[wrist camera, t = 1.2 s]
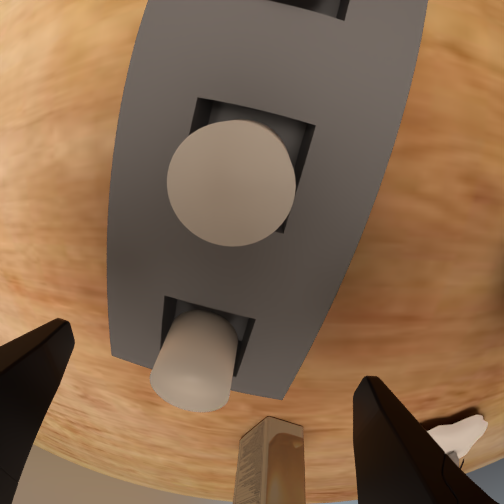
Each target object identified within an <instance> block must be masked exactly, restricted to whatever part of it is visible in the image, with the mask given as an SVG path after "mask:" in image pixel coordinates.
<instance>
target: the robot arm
mask: <svg viewBox="0 0 504 504" xmlns="http://www.w3.org/2000/svg"><path fill="white" fill-rule="evenodd" d="M74 345H75V340H74V336H73V333H72V329H71V325H70V323H69V322H68V321H66V320H63V319H60V318H57V319H54V320H52V321H50V322H48V323H46V324H44V325H42V326H40V327H38V328H36V329H34V330H32V331H30V332H28V333H26V334H24V335H22V336H20V337H18V338H16V339H14V340H12V341H10V342H8V343H6V344H4V345H2V346H0V504H12V501H13V497H14V495H15V492H16V489H17V486H18V482H19V479H20V476H21V474H22V471H23V468H24V465H25V463H26V460H27V457H28V455H29V452H30V450H31V447H32V445H33V442H34V440H35V438H36V435H37V433H38V431H39V428H40V426H41V424H42V421H43V419H44V417H45V415H46V413H47V410H48V408H49V406H50V404H51V402H52V400H53V398H54V395H55V393H56V391H57V389H58V387H59V385H60V382H61V380H62V377H63V374H64V372H65V369H66V366H67V364H68V361H69V358H70V356H71V353H72V351H73V348H74ZM353 446H354V456H355V467H356V479H357V492H358V504H499V503H497V502H496V501H494V500H493V499H492V498H491V497H490V496H488V495H487V494H486V493H485V492H484V491H483V490H482V489H481V488H480V487H479V486H477V485H476V484H475V483H474V482H473V481H472V480H471V479H470V478H469V477H468V476H466V474H465V473H464V472H463V471H462V470H461V469H460V468H459V467H458V466H457V465H456V464H455V463H454V462H453V460H452V459H451V458H450V457H449V456H448V455H447V454H446V453H445V451H444V450H443V449H442V448H441V447H440V446H439V445H438V443H437V442H436V441H435V440H434V439H433V438H432V437H431V435H430V434H429V433H428V432H427V431H426V430H425V429H424V428H423V426H422V425H421V424H420V423H419V422H418V421H417V420H416V419H415V417H414V416H413V415H412V414H411V413H410V412H409V411H408V410H407V408H406V407H405V406H404V405H403V404H402V403H401V402H400V401H399V399H398V398H397V397H396V396H395V395H394V394H393V393H392V392H391V390H390V389H389V388H388V387H387V386H386V385H385V384H384V383H383V381H382V380H381V379H380V378H379V377H377V376H365V377H364V378H363V379H362V381H361V383H360V384H359V386H358V388H357V389H356V391H355V393H354V396H353Z"/></svg>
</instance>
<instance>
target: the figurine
mask: <svg viewBox="0 0 504 504" xmlns="http://www.w3.org/2000/svg"><path fill="white" fill-rule="evenodd" d="M487 426H488V422H486V421H484V420H483V416H481V415H474V416H471V417H469V418H466V419H464V420H461V421H459V422H457V423H454V424H452V425H439V426H437V427H435V428H433V429H431V430H429V431H427V432H428V433H429V434H430V435H431V437H432V438H433V439H434V440H435V441H436V442H437V443H438V445H439V446H440V447H441V448H442V449H443V450H444V451H445V453H446V454H447V455H448V456H449V457H450V458H451V459H452V460H453V462H454V463H455V464H456V465H457V466H458V467H459V458H461V457H463V456H464V455H466V454H467V453H468V451H469V450H470V448H471V447H472V445H473V444H474V443H475V442H476V441H477V440H478V439H479V438H480V437H481V436H482V435H483V434H484V432H485V430H486V428H487ZM463 463H464V459H463V462H462V464H461V466H460V469H461V468H462V465H463Z"/></svg>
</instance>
